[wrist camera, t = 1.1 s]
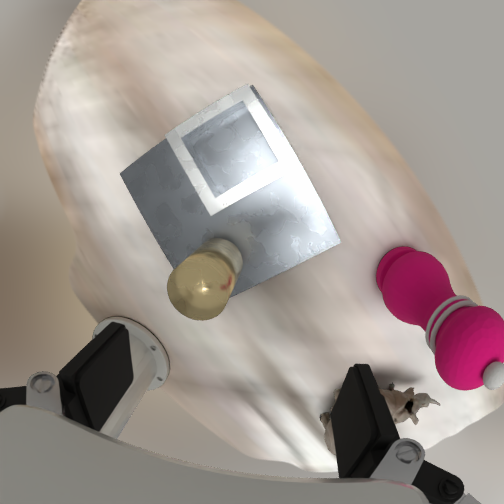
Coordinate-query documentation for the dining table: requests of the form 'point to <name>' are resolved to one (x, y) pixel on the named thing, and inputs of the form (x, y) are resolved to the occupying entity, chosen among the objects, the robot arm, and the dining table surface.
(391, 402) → the rhinoceros figurine
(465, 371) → the pepper mill
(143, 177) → the plate
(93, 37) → the dining table surface
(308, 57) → the dining table surface
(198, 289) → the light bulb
